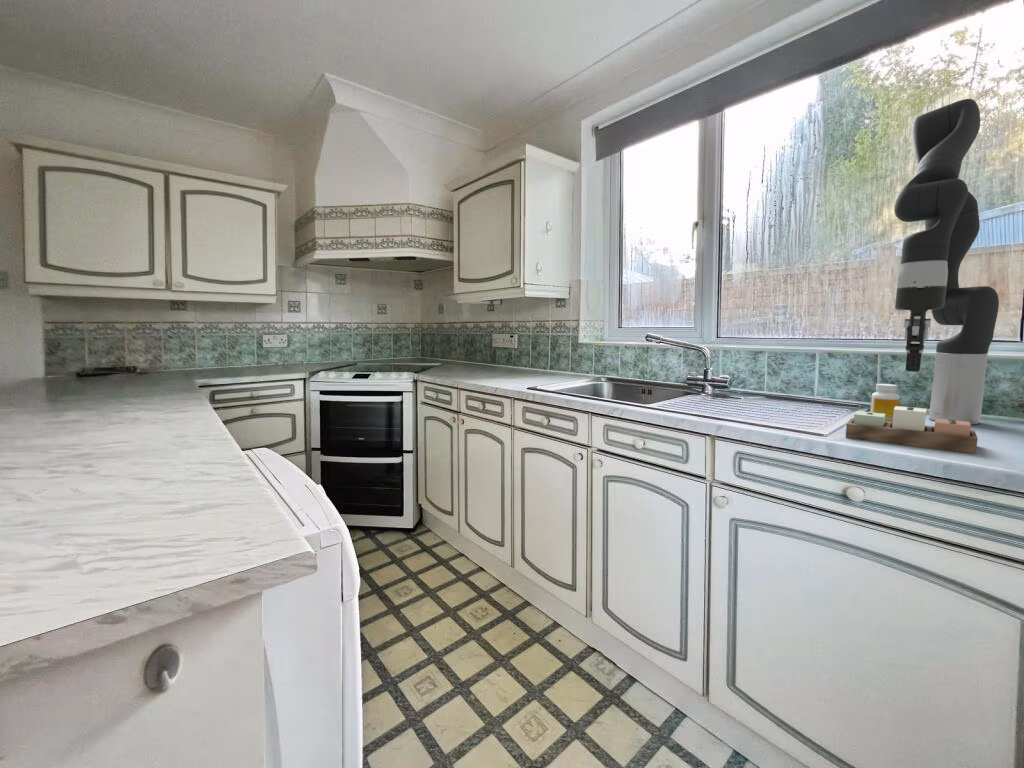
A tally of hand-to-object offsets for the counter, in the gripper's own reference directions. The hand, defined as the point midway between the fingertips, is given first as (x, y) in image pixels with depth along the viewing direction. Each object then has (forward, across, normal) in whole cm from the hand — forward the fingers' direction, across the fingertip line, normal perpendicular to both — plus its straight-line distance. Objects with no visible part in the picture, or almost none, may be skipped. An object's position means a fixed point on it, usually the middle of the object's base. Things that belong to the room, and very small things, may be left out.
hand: (912, 371), depth 94 cm
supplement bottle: (+15, -19, -5) cm, 25 cm away
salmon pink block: (+14, 0, +7) cm, 15 cm away
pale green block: (+14, 0, -6) cm, 15 cm away
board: (+15, 0, 0) cm, 15 cm away
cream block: (+12, 0, 0) cm, 12 cm away
